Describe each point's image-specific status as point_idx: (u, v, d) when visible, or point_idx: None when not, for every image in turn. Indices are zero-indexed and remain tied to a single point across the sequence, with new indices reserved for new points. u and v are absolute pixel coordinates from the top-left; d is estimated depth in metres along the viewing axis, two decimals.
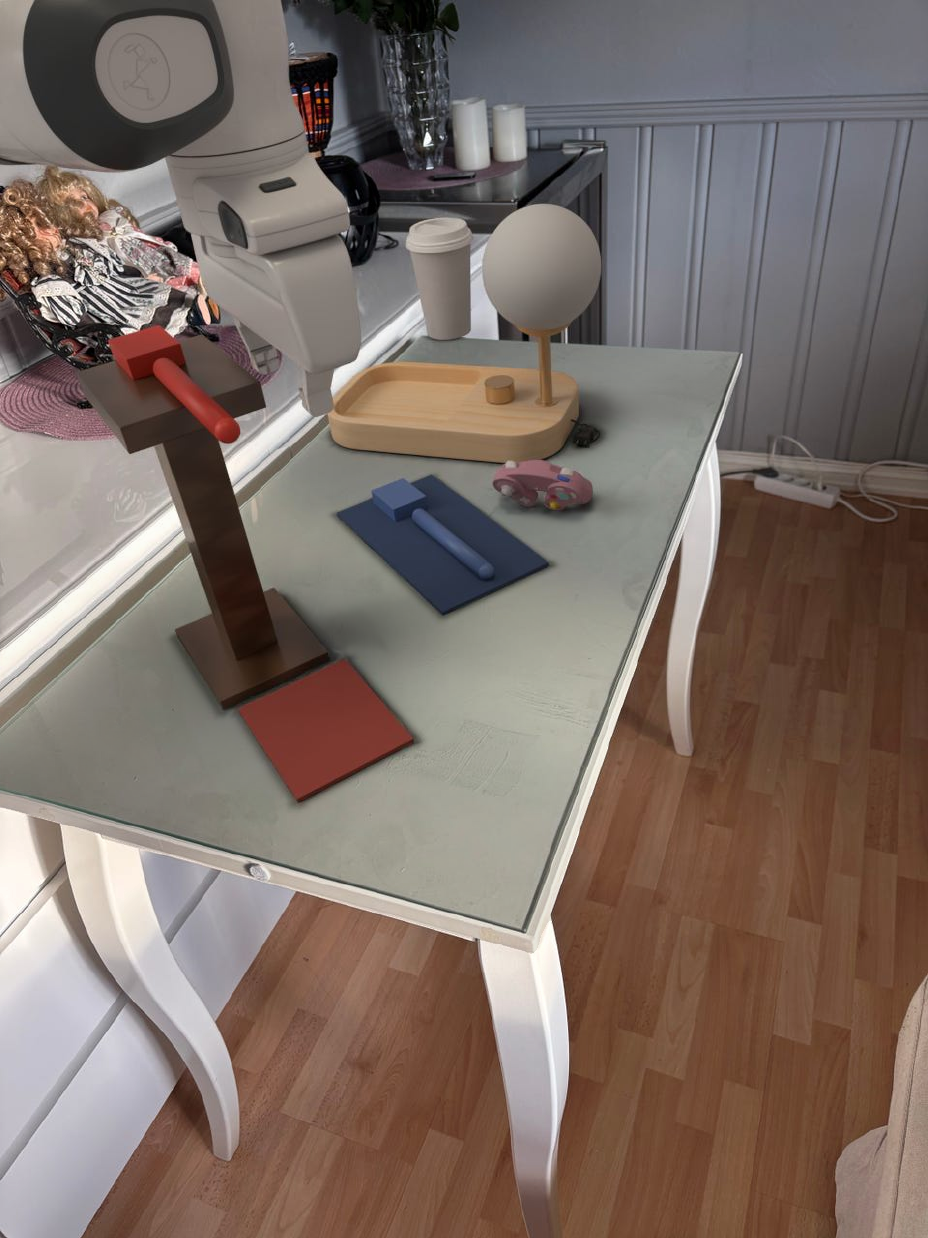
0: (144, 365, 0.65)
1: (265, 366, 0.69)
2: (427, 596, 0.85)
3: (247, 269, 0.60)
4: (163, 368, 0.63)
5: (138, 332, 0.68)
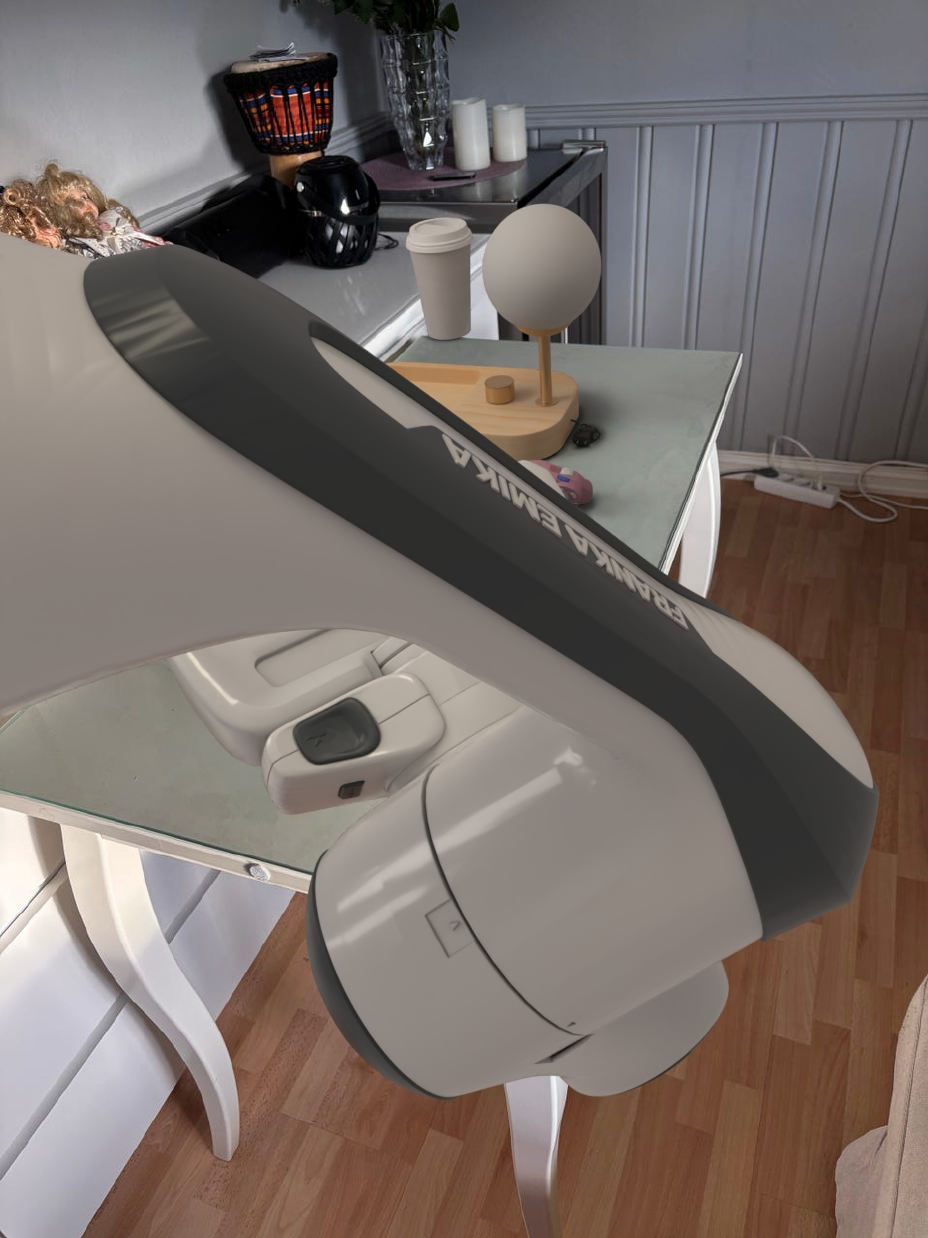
0: None
1: None
2: None
3: None
4: None
5: None
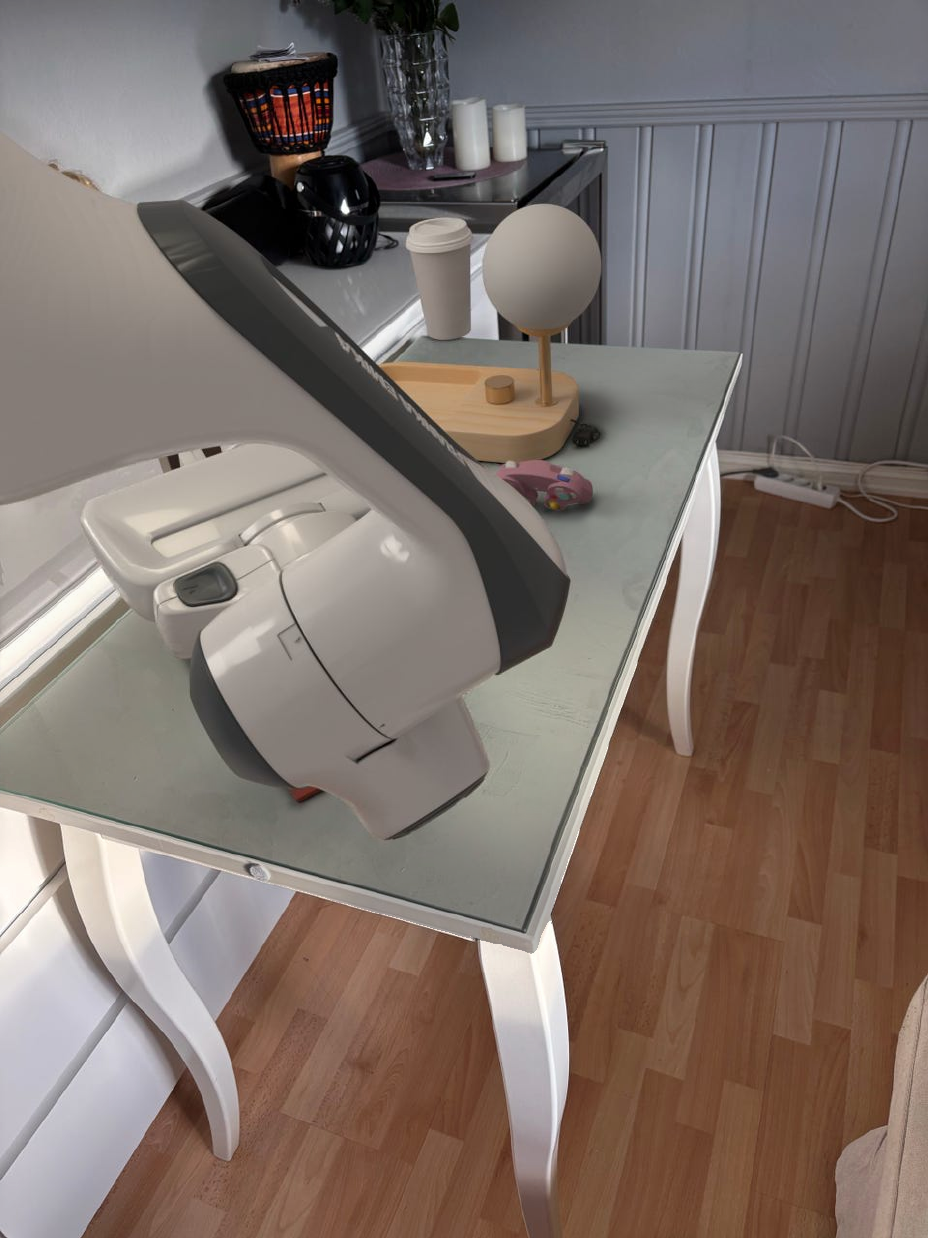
0: None
1: None
2: None
3: (252, 514, 0.53)
4: None
5: None
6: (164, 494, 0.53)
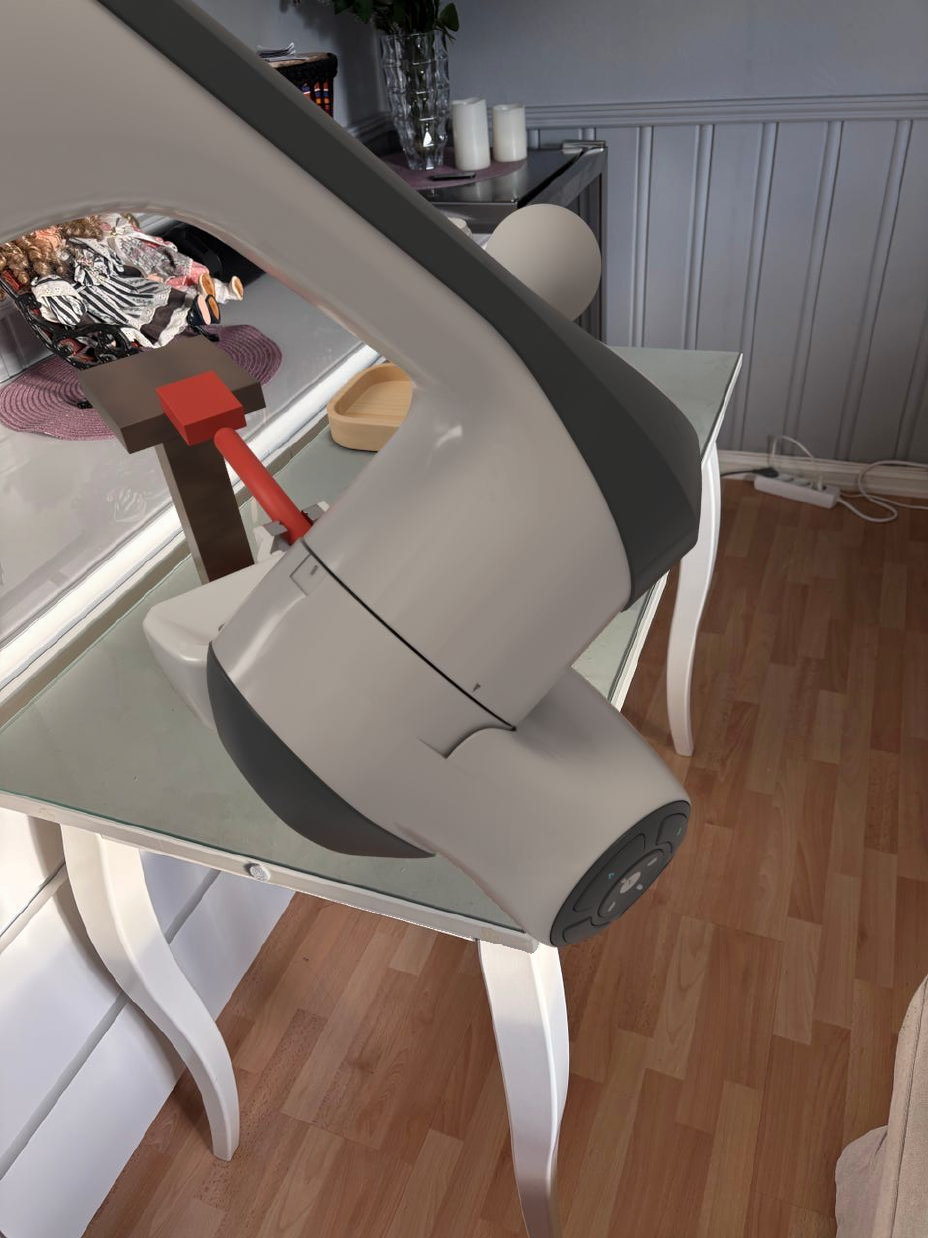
0: (202, 431, 0.58)
1: None
2: None
3: None
4: (229, 446, 0.56)
5: (190, 380, 0.60)
6: (236, 586, 0.45)
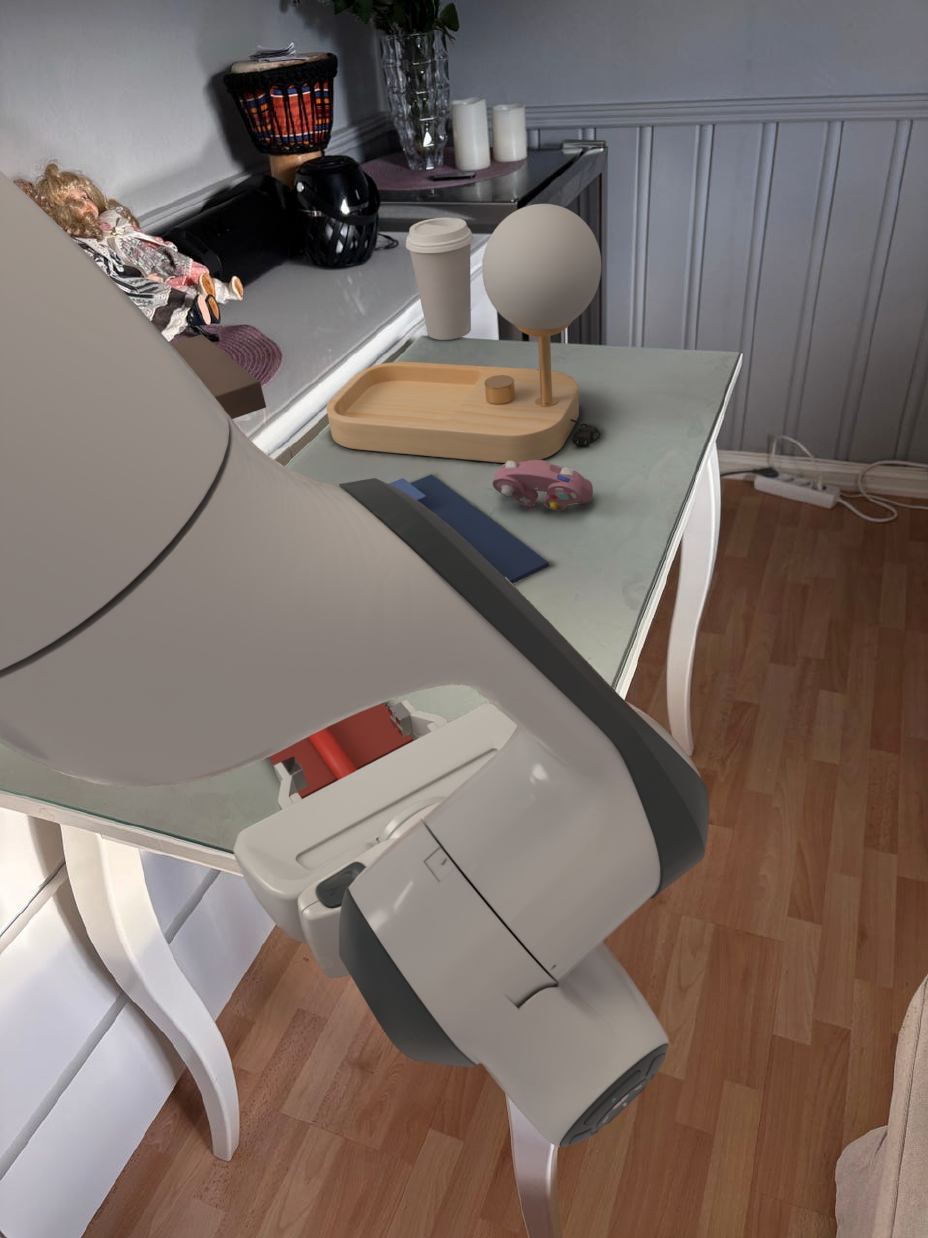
0: None
1: (393, 716, 0.64)
2: None
3: (388, 819, 0.55)
4: None
5: None
6: (307, 814, 0.56)
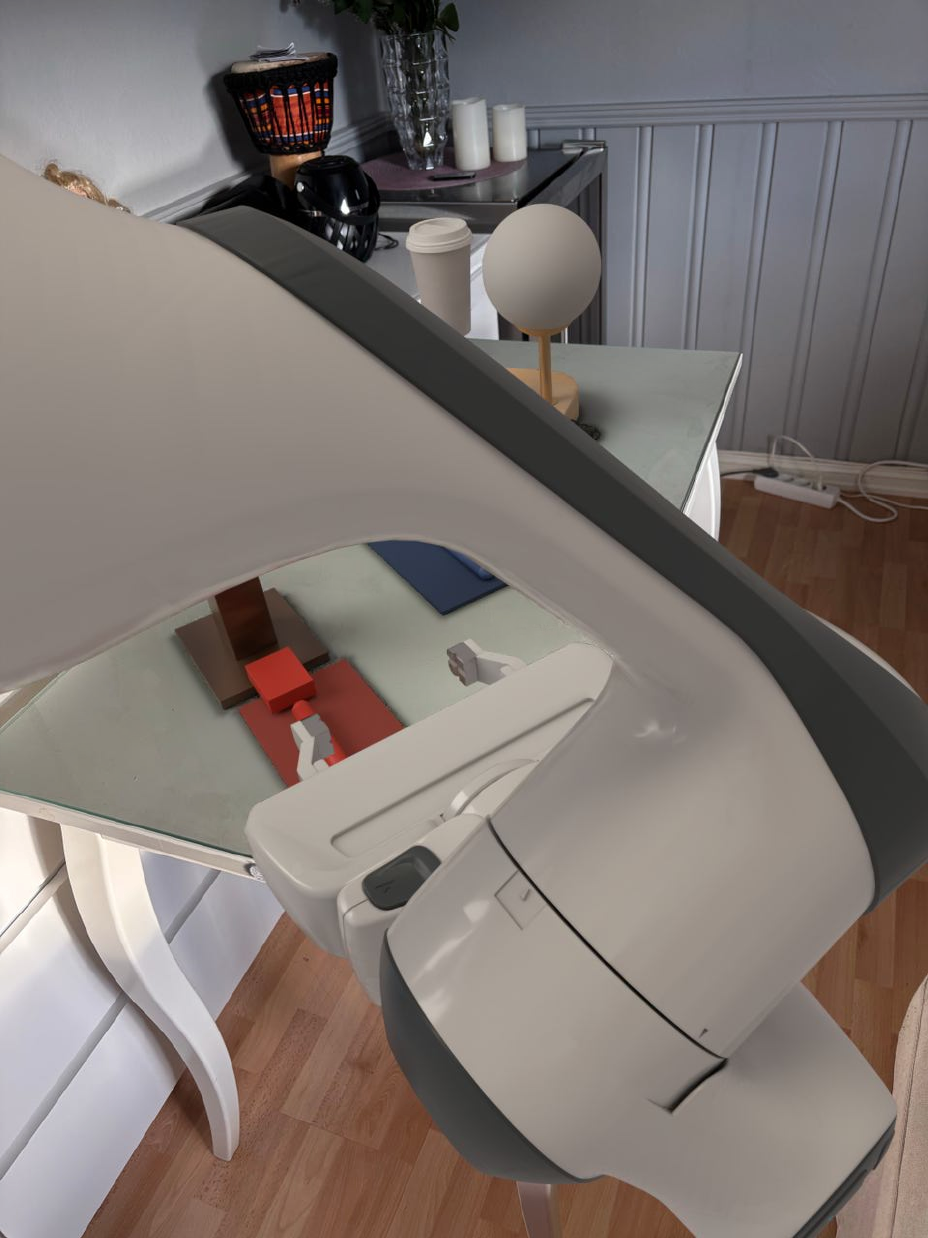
0: (282, 702, 0.73)
1: (453, 659, 0.50)
2: (427, 596, 0.85)
3: (454, 789, 0.41)
4: None
5: (271, 657, 0.76)
6: (343, 783, 0.41)
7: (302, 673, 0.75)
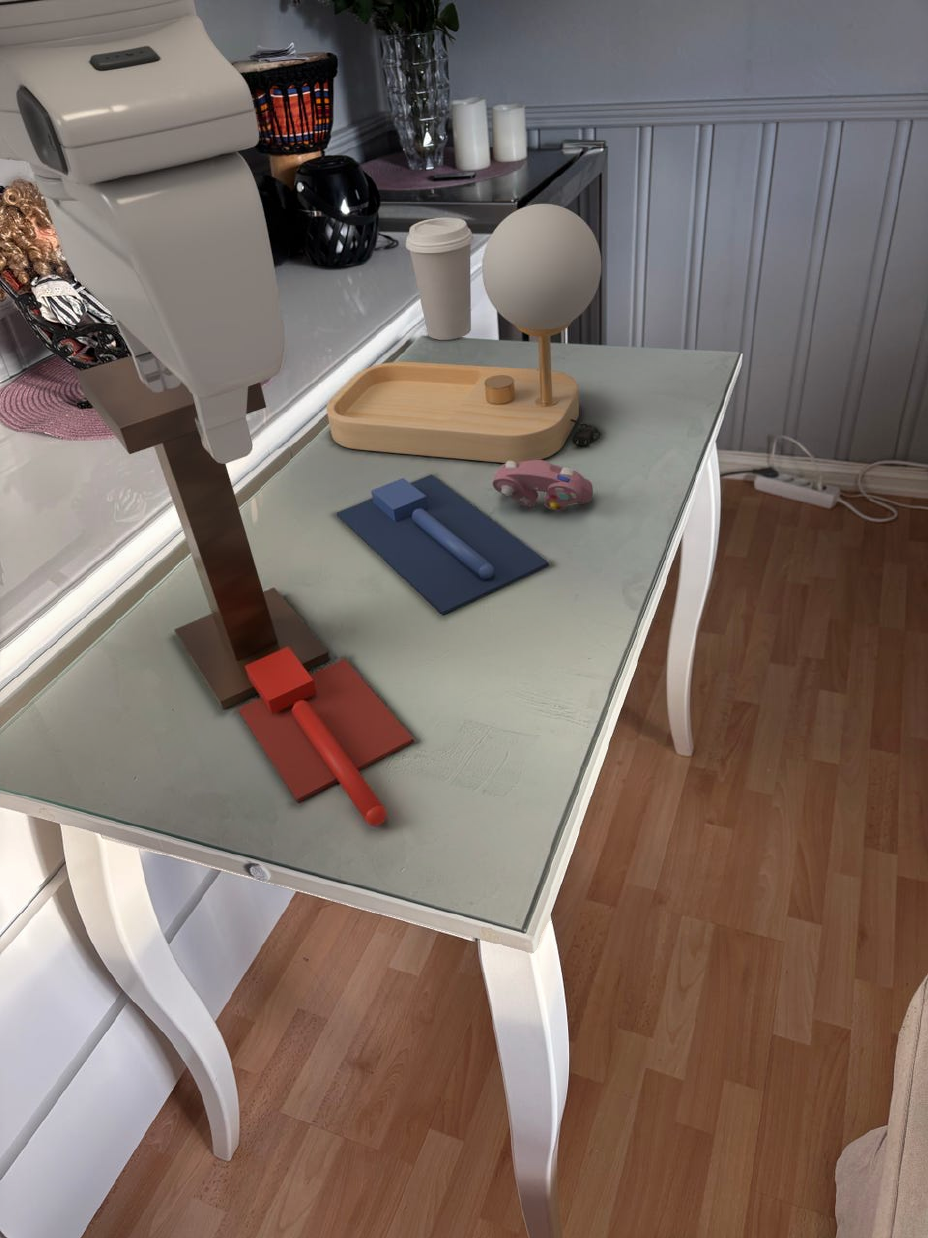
0: (282, 702, 0.73)
1: (159, 380, 0.45)
2: (427, 596, 0.85)
3: (101, 221, 0.36)
4: (304, 718, 0.71)
5: (271, 657, 0.76)
6: (149, 330, 0.35)
7: (302, 673, 0.75)
